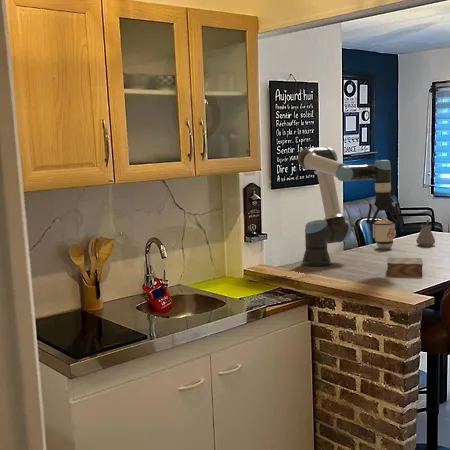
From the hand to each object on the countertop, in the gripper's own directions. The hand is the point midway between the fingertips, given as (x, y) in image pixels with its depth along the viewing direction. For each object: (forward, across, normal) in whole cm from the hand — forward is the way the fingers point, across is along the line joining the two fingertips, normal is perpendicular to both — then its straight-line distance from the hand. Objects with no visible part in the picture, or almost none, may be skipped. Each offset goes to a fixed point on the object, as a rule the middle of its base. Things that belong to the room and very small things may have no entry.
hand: (383, 237), depth 289 cm
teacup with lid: (+2, 0, 0) cm, 2 cm away
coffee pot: (+16, +28, +94) cm, 99 cm away
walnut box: (+18, +10, +1) cm, 20 cm away
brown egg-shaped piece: (+16, +2, +74) cm, 76 cm away
